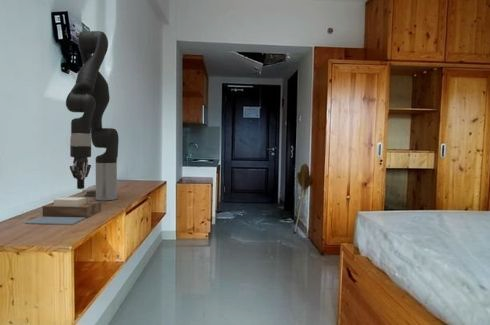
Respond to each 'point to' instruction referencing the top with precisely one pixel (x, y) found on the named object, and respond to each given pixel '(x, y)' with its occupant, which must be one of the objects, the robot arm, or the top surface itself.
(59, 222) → the mat
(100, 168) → the robot arm
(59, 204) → the cream thick tile
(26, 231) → the top surface
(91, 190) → the packaged product
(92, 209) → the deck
